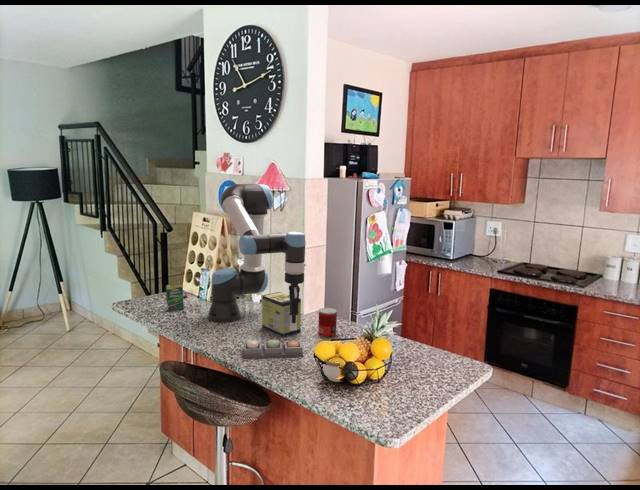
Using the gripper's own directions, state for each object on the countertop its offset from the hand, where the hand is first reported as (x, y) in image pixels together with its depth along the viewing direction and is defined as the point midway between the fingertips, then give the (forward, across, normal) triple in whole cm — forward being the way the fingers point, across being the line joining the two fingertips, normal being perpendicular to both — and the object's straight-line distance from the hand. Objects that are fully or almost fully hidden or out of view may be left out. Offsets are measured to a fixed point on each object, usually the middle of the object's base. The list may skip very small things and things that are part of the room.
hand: (293, 329), depth 180 cm
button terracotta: (+8, 0, 0) cm, 8 cm away
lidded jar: (+9, -24, -13) cm, 29 cm away
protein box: (+10, +25, +3) cm, 27 cm away
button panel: (+9, 0, +8) cm, 12 cm away
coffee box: (+10, +57, +54) cm, 79 cm away
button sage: (+7, 0, +8) cm, 11 cm away
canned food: (+10, +18, -17) cm, 26 cm away
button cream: (+7, 0, +16) cm, 17 cm away
